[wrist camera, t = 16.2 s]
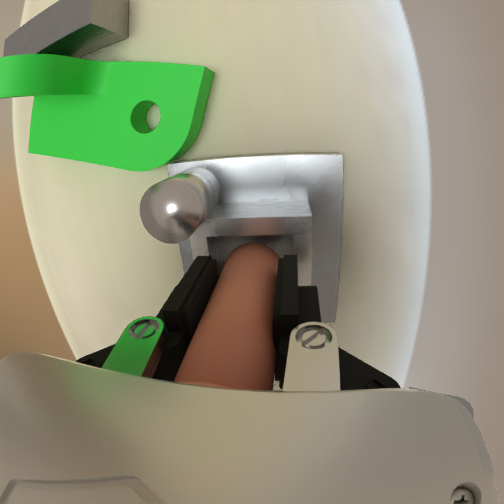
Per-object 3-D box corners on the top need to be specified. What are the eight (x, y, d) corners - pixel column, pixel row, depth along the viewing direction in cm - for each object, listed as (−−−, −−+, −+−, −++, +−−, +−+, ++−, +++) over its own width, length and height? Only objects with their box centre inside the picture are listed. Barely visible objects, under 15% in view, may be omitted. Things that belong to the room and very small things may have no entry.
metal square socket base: (332, 311, 18) (342, 368, 14) (199, 310, 20) (175, 363, 15) (338, 152, 14) (362, 165, 10) (175, 161, 16) (130, 178, 11)
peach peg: (289, 298, 14) (279, 470, 6) (224, 297, 14) (166, 455, 6) (288, 235, 12) (279, 410, 5) (216, 237, 13) (125, 391, 5)
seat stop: (128, 37, 12) (90, 22, 9) (41, 77, 14) (2, 77, 10) (128, 0, 11) (94, -19, 8) (42, 43, 12) (5, 39, 9)
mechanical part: (47, 148, 16) (-39, 174, 9) (58, 69, 14) (-30, 67, 6) (192, 174, 16) (118, 218, 9) (215, 73, 13) (149, 34, 6)
